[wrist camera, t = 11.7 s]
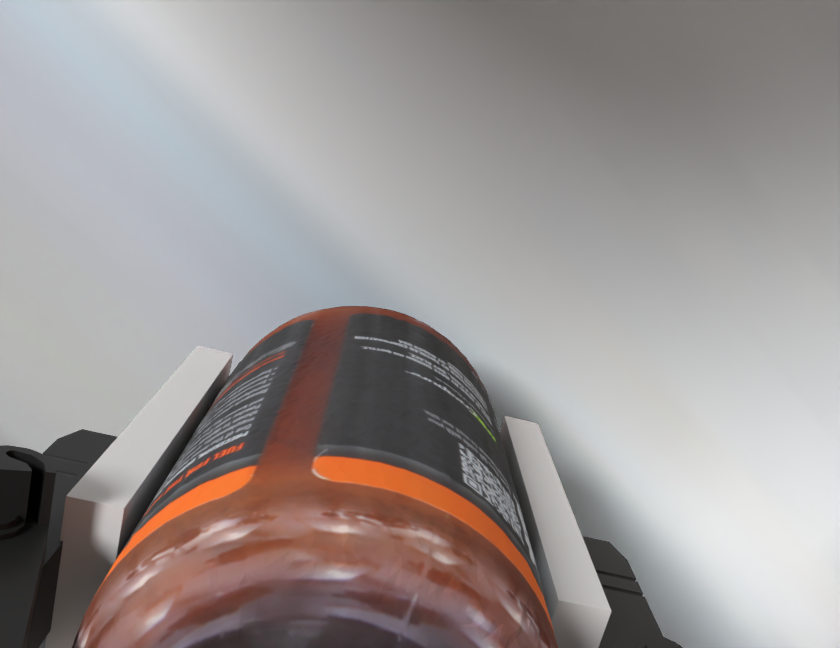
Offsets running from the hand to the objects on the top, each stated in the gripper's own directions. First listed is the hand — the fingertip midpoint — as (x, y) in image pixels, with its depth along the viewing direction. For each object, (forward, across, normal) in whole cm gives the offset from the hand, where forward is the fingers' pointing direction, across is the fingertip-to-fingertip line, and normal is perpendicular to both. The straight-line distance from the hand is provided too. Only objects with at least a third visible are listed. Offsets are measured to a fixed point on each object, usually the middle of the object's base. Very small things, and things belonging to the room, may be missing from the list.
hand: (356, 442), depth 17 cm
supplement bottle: (+1, 0, 0) cm, 1 cm away
